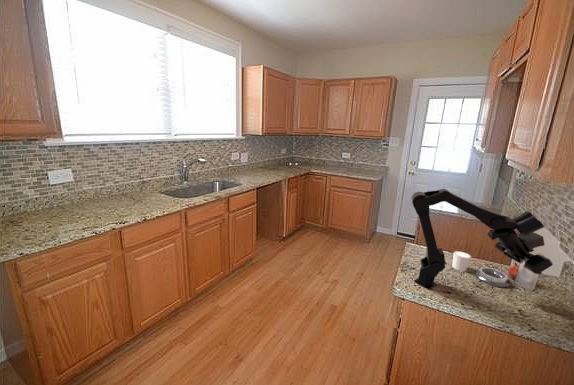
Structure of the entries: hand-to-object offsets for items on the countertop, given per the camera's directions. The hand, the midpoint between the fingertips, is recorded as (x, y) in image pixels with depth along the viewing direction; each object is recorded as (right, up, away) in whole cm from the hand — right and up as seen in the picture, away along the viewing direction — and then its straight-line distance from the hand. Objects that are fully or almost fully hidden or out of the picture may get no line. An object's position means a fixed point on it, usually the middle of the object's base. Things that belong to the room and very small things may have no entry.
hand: (533, 269), depth 97 cm
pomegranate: (+10, -10, +17) cm, 22 cm away
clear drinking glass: (-2, -6, +2) cm, 7 cm away
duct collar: (-2, -9, +17) cm, 19 cm away
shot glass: (-11, -7, +25) cm, 28 cm away
